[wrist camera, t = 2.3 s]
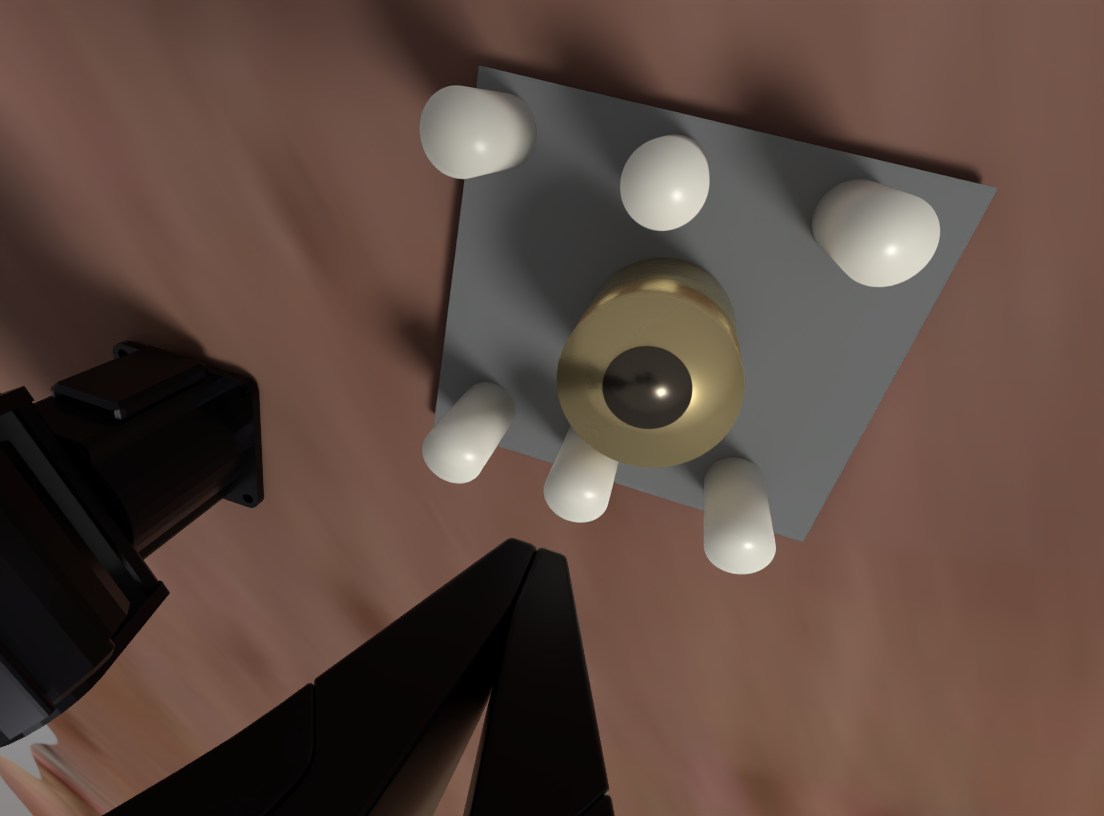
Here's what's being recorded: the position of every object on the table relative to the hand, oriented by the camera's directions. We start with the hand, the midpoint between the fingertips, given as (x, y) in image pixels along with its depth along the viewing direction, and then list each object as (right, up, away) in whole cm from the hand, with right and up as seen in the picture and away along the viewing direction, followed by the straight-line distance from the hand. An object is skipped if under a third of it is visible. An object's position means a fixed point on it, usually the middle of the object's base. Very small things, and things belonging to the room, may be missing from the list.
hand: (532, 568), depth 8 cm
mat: (+4, +5, +10) cm, 12 cm away
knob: (+4, +5, +10) cm, 12 cm away
